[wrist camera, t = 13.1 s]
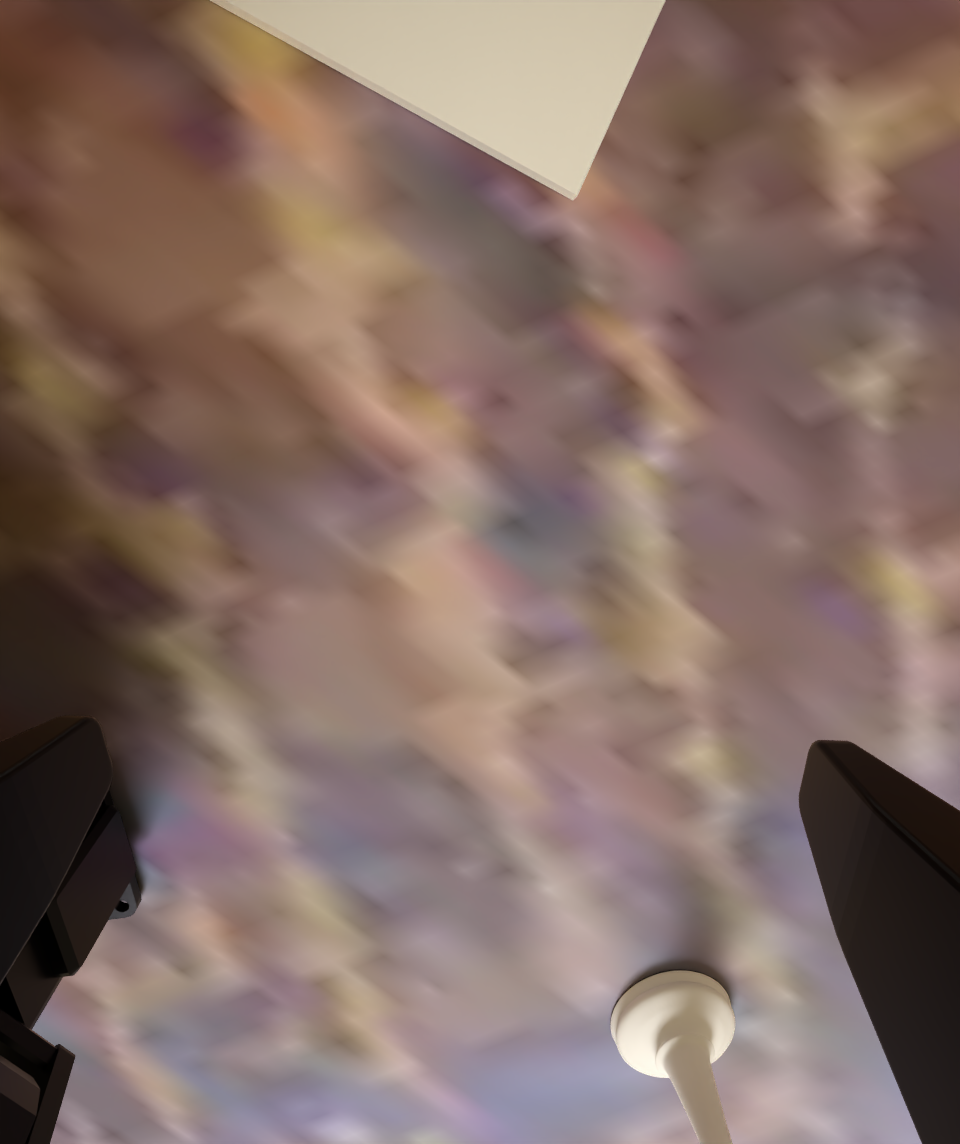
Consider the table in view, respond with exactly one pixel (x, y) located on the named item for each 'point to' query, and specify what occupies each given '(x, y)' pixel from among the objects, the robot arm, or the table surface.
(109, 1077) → the table surface
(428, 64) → the card
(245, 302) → the table surface
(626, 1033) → the chess piece
